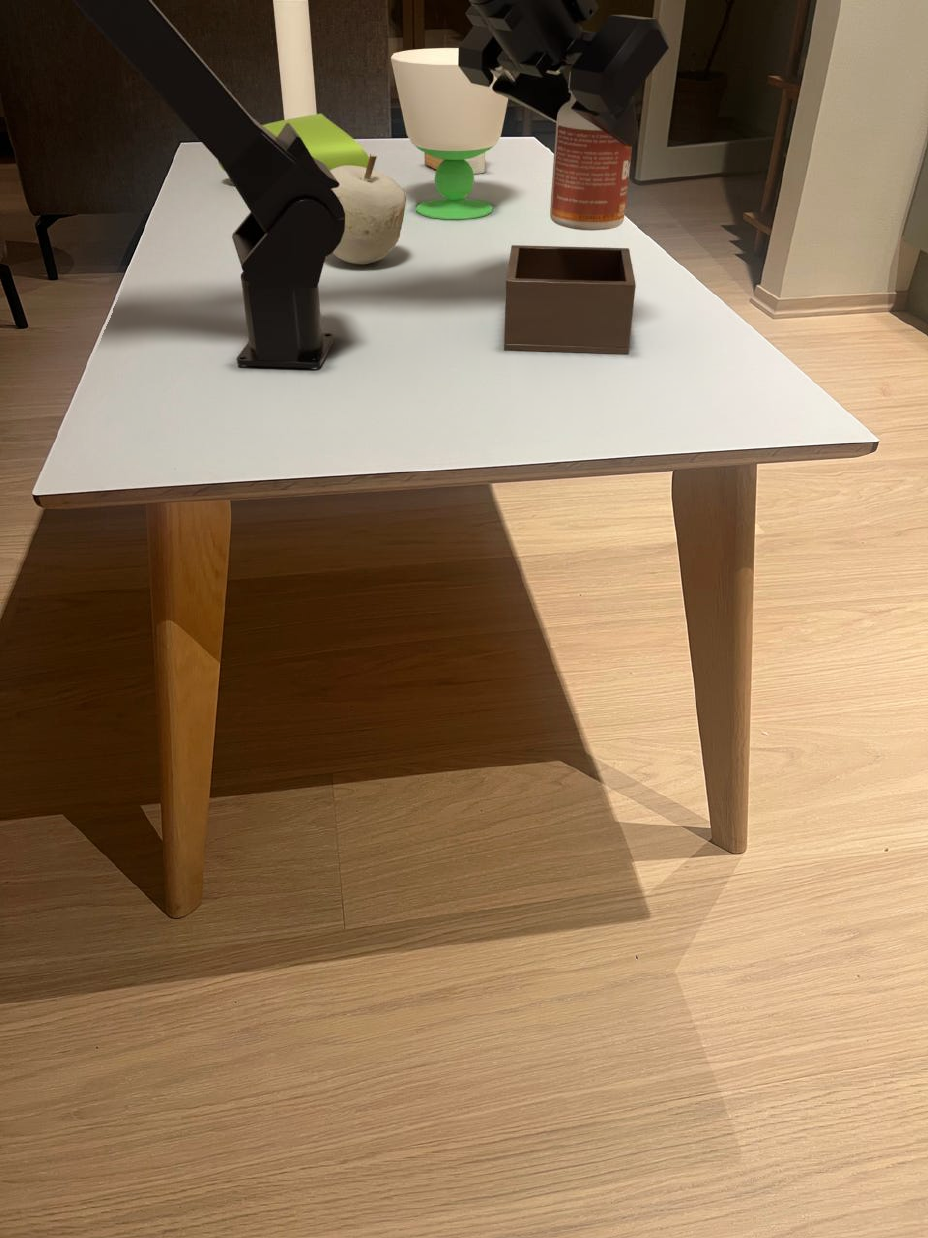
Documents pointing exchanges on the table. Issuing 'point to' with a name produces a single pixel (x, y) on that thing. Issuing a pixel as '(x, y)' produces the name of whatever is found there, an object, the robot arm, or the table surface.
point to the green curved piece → (324, 141)
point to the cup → (448, 124)
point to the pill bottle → (587, 174)
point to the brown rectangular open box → (569, 299)
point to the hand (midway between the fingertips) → (607, 134)
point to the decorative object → (368, 212)
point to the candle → (295, 57)
